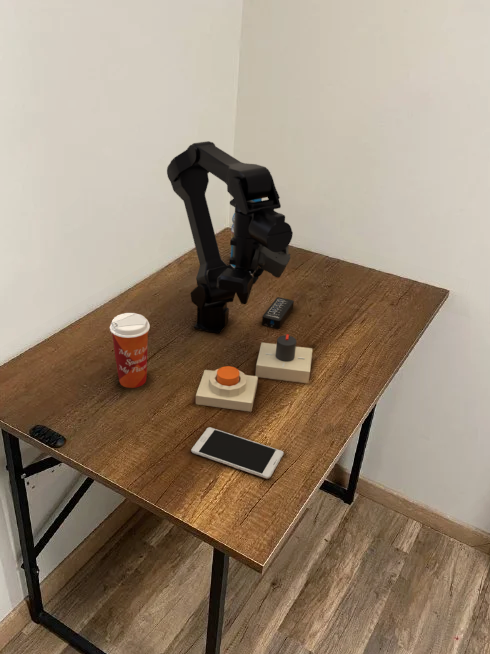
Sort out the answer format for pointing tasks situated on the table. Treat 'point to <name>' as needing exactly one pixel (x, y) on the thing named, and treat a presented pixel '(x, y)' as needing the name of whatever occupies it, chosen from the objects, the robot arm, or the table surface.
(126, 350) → the paper cup
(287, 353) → the timer dial
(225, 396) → the button block
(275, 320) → the multiport hub
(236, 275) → the robot arm
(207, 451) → the smartphone
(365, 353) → the table surface
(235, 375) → the button
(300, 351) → the dial panel
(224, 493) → the table surface
